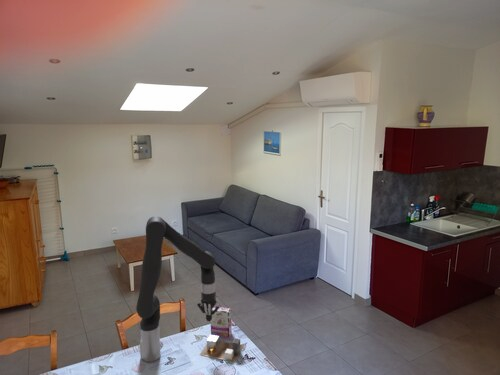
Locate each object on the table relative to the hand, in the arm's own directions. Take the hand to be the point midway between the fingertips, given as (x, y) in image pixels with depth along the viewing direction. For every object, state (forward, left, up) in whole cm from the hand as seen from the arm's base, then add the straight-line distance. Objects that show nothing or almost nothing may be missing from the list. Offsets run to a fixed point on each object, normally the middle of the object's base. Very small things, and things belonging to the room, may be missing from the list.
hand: (209, 320), depth 185 cm
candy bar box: (+1, +14, -17) cm, 22 cm away
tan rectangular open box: (+7, 0, -17) cm, 18 cm away
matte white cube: (+13, -4, -16) cm, 21 cm away
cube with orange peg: (+2, -2, -16) cm, 16 cm away
